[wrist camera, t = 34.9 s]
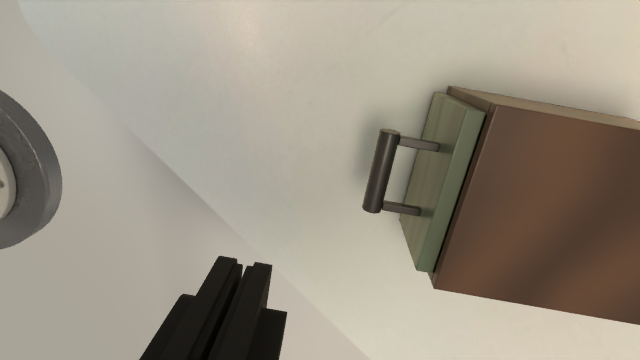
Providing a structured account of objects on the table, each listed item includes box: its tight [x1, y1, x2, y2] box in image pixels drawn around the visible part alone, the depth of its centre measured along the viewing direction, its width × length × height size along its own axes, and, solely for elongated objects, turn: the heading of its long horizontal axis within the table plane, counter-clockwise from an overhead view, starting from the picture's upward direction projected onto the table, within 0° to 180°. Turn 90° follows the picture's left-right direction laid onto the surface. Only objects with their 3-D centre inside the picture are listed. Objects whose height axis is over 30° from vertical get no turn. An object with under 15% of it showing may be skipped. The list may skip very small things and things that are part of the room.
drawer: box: [362, 92, 487, 273], centre depth 27 cm, size 18×11×8 cm, turn 80°
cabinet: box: [428, 86, 640, 325], centre depth 27 cm, size 15×13×10 cm
